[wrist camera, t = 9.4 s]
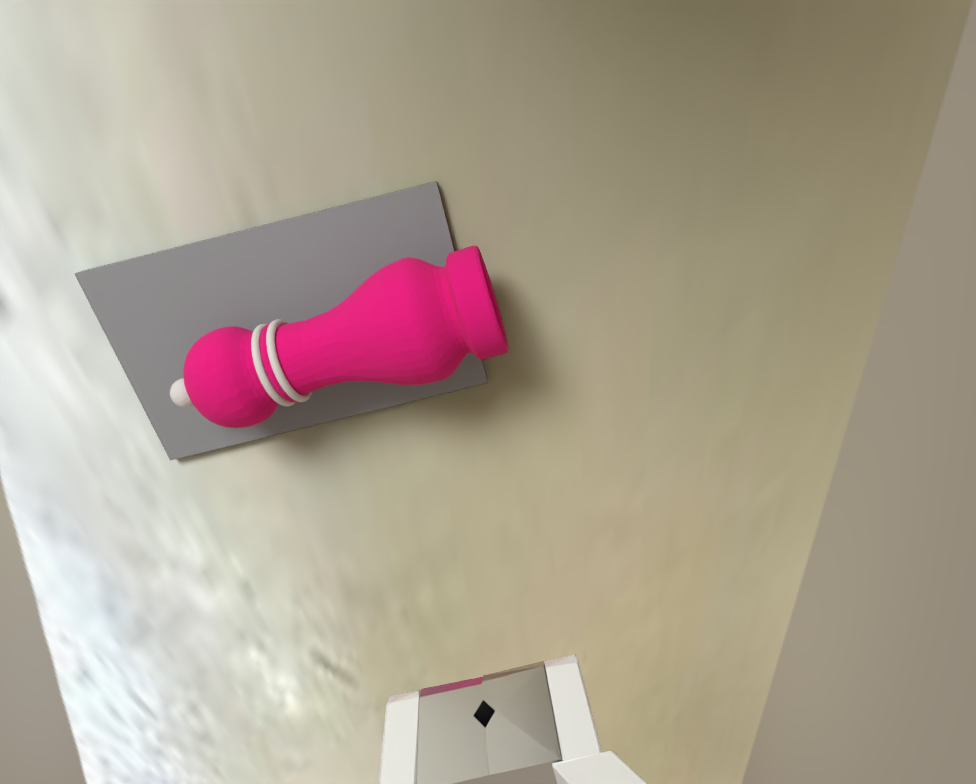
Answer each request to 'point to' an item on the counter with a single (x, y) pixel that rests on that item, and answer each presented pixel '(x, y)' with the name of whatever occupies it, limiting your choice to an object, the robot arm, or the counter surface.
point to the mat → (264, 306)
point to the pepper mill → (349, 342)
